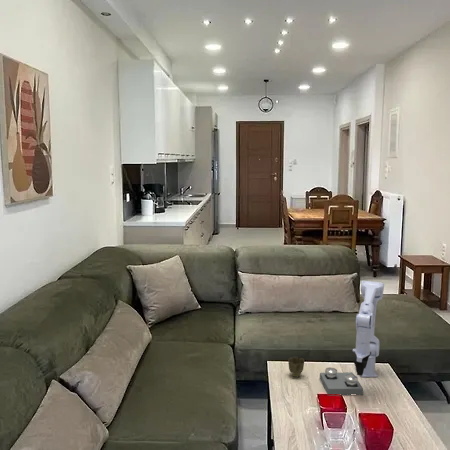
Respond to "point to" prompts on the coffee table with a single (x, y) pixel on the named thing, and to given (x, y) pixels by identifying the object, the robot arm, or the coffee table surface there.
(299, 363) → the cup
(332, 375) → the knob
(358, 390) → the knob board
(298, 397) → the coffee table surface
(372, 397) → the coffee table surface
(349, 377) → the knob
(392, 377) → the coffee table surface
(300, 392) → the coffee table surface
